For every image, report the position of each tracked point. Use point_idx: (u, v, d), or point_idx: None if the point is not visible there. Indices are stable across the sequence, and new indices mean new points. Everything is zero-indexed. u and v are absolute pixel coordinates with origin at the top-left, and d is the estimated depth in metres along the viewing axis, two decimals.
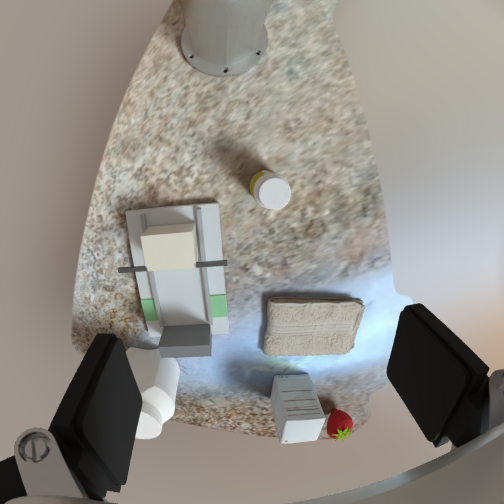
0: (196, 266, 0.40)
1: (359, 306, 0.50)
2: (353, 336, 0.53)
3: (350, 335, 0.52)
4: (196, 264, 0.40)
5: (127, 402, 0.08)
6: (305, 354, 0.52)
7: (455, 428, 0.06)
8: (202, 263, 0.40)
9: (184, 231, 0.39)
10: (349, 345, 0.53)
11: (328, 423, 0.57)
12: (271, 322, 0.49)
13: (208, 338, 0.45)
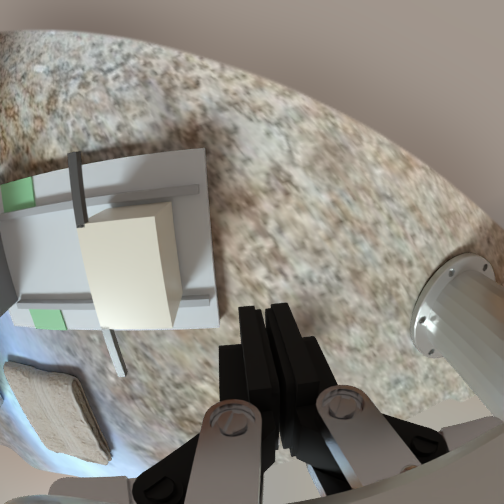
0: (104, 329, 0.18)
1: (105, 463, 0.30)
2: None
3: (67, 453, 0.29)
4: (108, 330, 0.18)
5: None
6: (24, 412, 0.26)
7: (295, 440, 0.06)
8: (112, 339, 0.18)
9: (171, 309, 0.18)
10: (56, 450, 0.29)
11: None
12: (45, 382, 0.25)
13: None
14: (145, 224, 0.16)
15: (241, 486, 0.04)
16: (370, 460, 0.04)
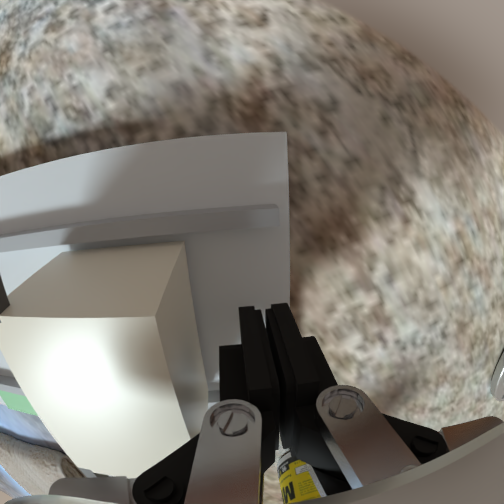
0: (84, 471, 0.08)
1: None
2: None
3: None
4: (91, 473, 0.08)
5: None
6: (15, 480, 0.16)
7: (295, 439, 0.06)
8: None
9: None
10: None
11: None
12: (29, 460, 0.15)
13: None
14: (132, 333, 0.06)
15: (241, 486, 0.04)
16: (370, 460, 0.04)
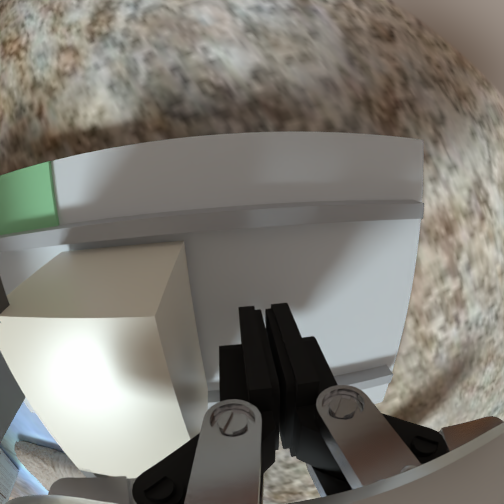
0: (84, 471, 0.08)
1: None
2: None
3: None
4: (90, 473, 0.08)
5: None
6: None
7: (295, 440, 0.06)
8: None
9: None
10: None
11: None
12: (78, 473, 0.15)
13: (2, 432, 0.08)
14: (132, 334, 0.06)
15: (241, 486, 0.04)
16: (370, 460, 0.04)
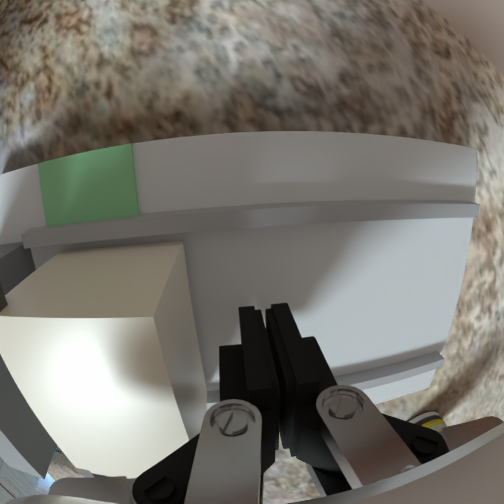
0: (83, 472, 0.07)
1: None
2: None
3: None
4: (89, 473, 0.07)
5: None
6: None
7: (295, 440, 0.06)
8: None
9: None
10: None
11: None
12: None
13: (53, 448, 0.08)
14: (130, 334, 0.06)
15: (241, 486, 0.04)
16: (370, 460, 0.04)
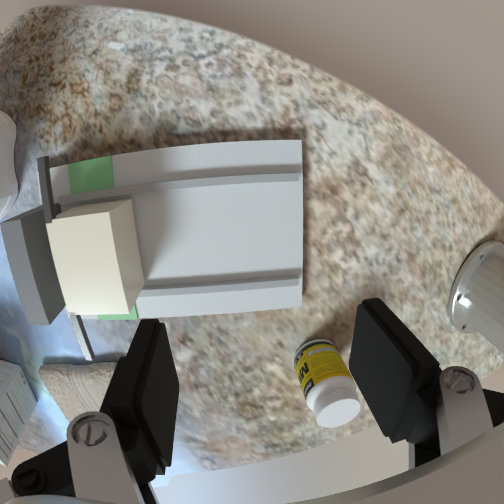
0: (71, 315, 0.19)
1: None
2: None
3: None
4: (74, 315, 0.19)
5: (170, 385, 0.09)
6: (67, 417, 0.28)
7: (407, 424, 0.06)
8: (78, 324, 0.19)
9: (127, 296, 0.19)
10: None
11: None
12: (86, 375, 0.26)
13: (58, 311, 0.19)
14: (101, 219, 0.17)
15: (118, 487, 0.04)
16: (463, 429, 0.04)
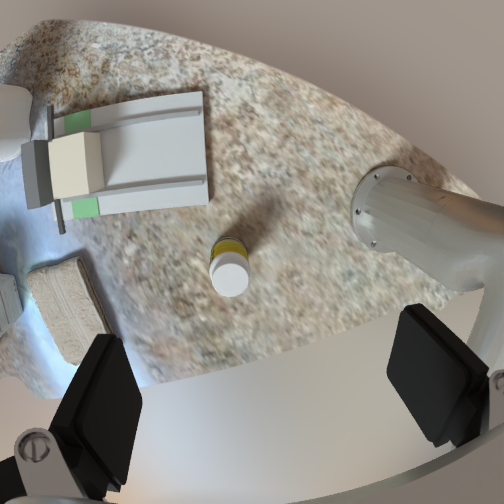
0: (55, 200, 0.29)
1: None
2: None
3: (83, 357, 0.41)
4: (57, 200, 0.29)
5: (127, 402, 0.08)
6: (44, 319, 0.38)
7: (455, 428, 0.06)
8: (58, 206, 0.29)
9: (89, 183, 0.29)
10: (73, 360, 0.41)
11: None
12: (58, 269, 0.36)
13: (47, 202, 0.30)
14: (79, 136, 0.27)
15: None
16: None
